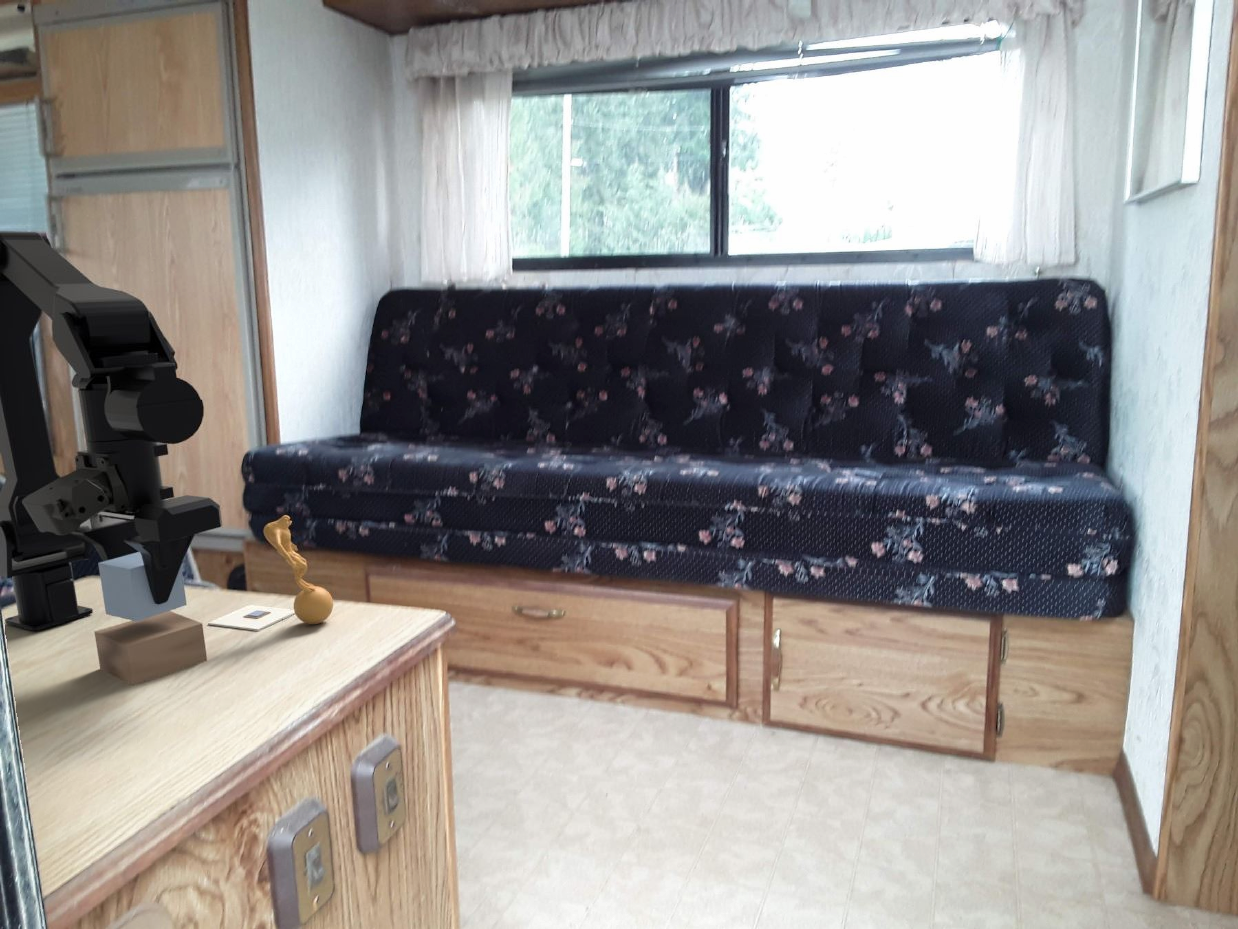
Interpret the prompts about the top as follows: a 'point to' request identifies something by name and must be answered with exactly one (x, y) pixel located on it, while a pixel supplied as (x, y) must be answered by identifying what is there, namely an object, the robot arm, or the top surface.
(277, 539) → the figurine
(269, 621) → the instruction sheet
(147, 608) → the blue brick
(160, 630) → the base brick
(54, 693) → the top surface
